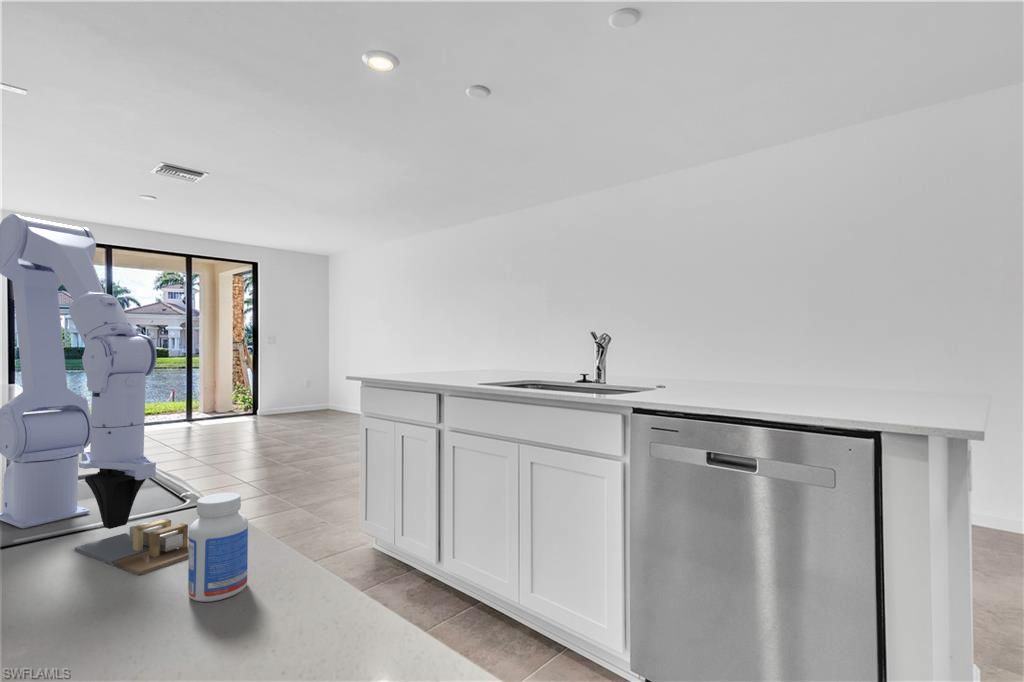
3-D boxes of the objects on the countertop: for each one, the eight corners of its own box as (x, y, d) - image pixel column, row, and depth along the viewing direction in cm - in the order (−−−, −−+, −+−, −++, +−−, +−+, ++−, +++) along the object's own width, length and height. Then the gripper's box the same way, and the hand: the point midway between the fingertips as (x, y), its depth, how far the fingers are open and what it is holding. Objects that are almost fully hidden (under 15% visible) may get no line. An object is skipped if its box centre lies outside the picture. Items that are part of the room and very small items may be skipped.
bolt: (129, 539, 65) (129, 527, 65) (146, 534, 67) (146, 522, 67) (165, 551, 62) (165, 538, 62) (182, 546, 63) (182, 533, 63)
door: (74, 550, 64) (75, 525, 64) (160, 526, 72) (160, 504, 72) (111, 564, 60) (112, 537, 60) (197, 537, 68) (198, 513, 69)
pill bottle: (258, 580, 56) (260, 491, 56) (225, 605, 51) (228, 506, 51) (211, 577, 57) (213, 489, 57) (174, 601, 51) (177, 504, 51)
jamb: (113, 565, 59) (114, 538, 59) (199, 537, 68) (199, 514, 68) (139, 575, 57) (139, 547, 57) (224, 545, 66) (225, 521, 66)
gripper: (55, 423, 69) (52, 525, 68) (112, 433, 62) (109, 546, 62) (115, 417, 75) (112, 510, 75) (173, 426, 68) (170, 528, 68)
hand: (115, 526), depth 69 cm, fingers closed
